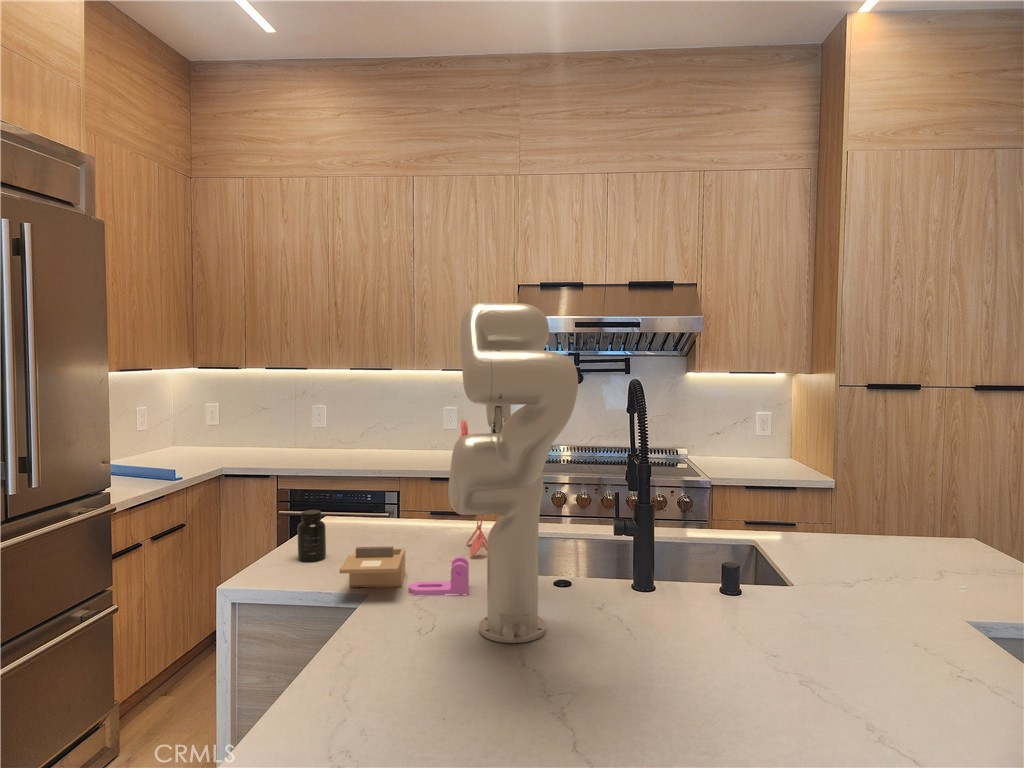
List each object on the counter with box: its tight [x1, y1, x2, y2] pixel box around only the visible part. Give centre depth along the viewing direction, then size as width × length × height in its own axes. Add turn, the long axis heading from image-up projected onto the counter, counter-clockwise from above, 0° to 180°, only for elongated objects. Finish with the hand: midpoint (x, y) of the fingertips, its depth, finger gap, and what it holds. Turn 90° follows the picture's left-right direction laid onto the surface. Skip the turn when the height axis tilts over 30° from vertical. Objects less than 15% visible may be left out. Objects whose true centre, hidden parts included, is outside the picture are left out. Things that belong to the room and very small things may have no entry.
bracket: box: [408, 555, 470, 596], centre depth 150 cm, size 13×6×7 cm, turn 93°
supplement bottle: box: [297, 509, 327, 563], centre depth 173 cm, size 7×7×12 cm
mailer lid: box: [339, 546, 403, 574], centre depth 147 cm, size 10×12×3 cm
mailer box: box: [348, 547, 406, 588], centre depth 157 cm, size 9×11×6 cm
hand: (497, 458), depth 149 cm, fingers closed
